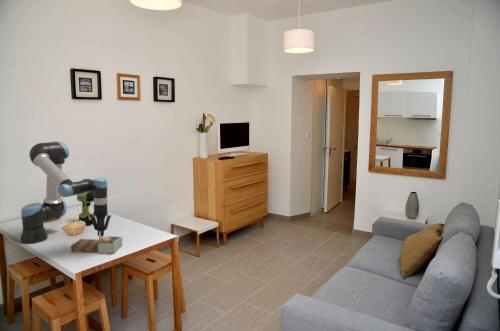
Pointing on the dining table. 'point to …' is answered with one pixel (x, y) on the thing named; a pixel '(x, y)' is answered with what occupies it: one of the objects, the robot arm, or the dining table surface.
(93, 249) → the walnut board
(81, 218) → the cordless drill
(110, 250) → the tray
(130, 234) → the dining table surface
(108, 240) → the peach square block
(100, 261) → the dining table surface
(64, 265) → the dining table surface
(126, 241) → the dining table surface
